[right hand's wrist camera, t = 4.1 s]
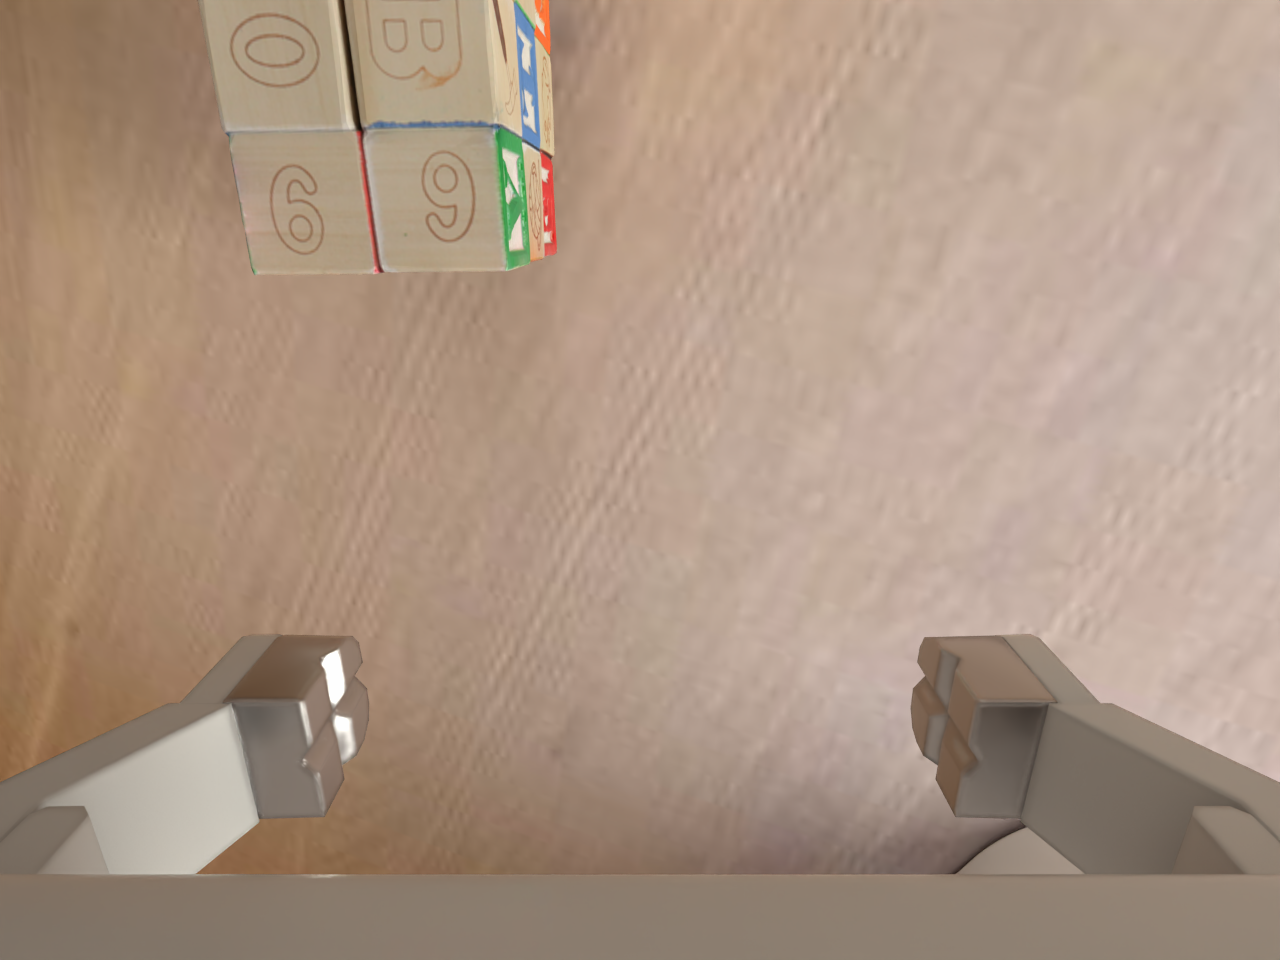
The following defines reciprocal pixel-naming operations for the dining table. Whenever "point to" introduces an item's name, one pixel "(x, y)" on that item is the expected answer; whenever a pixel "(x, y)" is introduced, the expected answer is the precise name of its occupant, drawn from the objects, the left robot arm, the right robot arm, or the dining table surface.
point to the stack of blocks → (387, 132)
